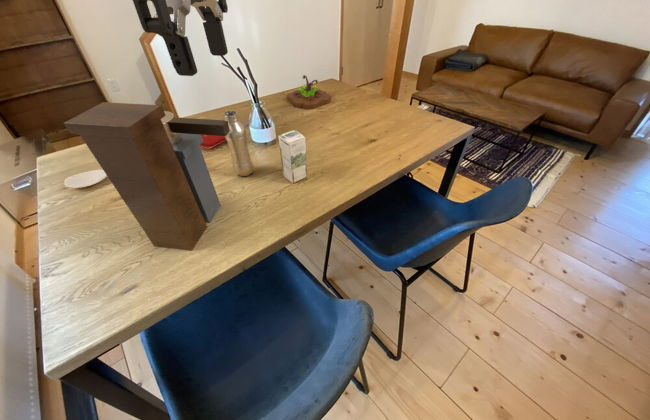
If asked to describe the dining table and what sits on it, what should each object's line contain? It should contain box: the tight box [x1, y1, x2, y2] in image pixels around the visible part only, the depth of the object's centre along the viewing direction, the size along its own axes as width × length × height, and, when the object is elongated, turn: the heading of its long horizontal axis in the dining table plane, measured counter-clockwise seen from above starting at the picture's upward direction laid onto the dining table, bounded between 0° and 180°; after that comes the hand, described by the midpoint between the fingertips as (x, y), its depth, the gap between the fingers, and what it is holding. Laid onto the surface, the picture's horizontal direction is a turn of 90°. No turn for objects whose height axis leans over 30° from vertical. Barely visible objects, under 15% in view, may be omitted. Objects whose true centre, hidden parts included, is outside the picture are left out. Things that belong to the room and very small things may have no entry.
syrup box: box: [277, 129, 308, 184], centre depth 83 cm, size 6×6×14 cm
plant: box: [286, 74, 332, 110], centre depth 132 cm, size 20×20×11 cm
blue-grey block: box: [172, 133, 221, 224], centre depth 69 cm, size 8×12×22 cm, turn 82°
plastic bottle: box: [223, 110, 255, 177], centre depth 83 cm, size 6×7×20 cm
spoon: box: [63, 168, 108, 189], centre depth 90 cm, size 9×32×4 cm, turn 122°
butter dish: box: [199, 135, 227, 150], centre depth 103 cm, size 12×12×8 cm
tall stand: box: [63, 101, 208, 251], centre depth 59 cm, size 9×12×32 cm
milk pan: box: [161, 110, 230, 145], centre depth 59 cm, size 8×20×5 cm, turn 82°
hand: (205, 64), depth 34 cm, fingers open, 8 cm apart
